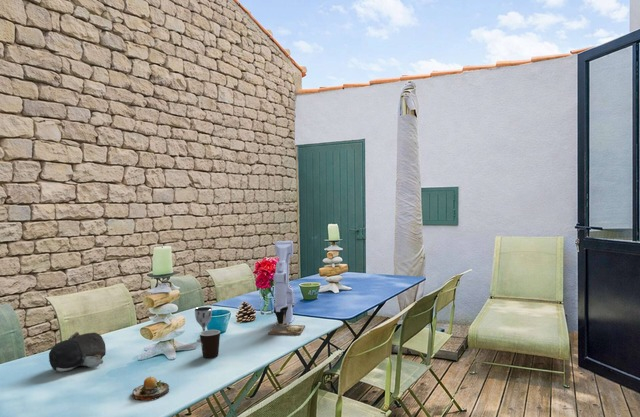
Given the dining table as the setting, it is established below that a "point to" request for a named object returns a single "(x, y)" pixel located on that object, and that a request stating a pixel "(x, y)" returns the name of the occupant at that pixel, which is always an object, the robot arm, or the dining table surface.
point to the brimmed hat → (150, 389)
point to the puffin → (78, 352)
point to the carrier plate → (286, 329)
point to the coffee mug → (210, 343)
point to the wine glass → (203, 317)
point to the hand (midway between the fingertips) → (281, 322)
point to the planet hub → (283, 322)
